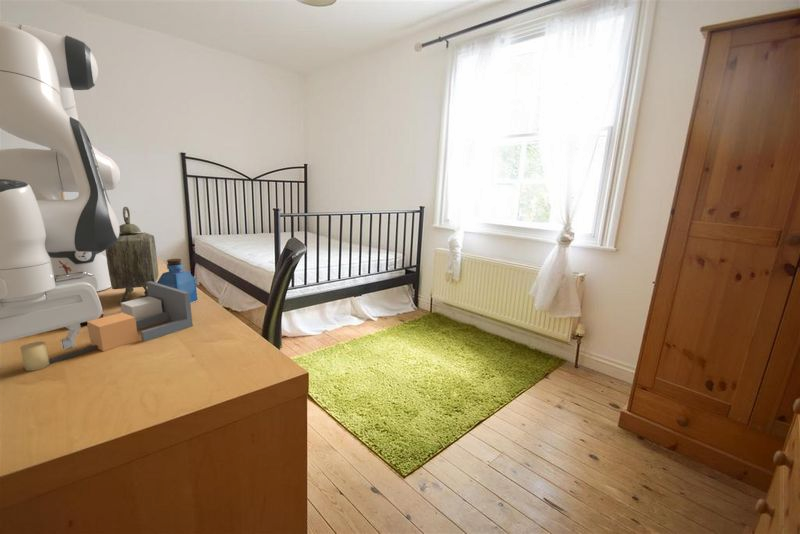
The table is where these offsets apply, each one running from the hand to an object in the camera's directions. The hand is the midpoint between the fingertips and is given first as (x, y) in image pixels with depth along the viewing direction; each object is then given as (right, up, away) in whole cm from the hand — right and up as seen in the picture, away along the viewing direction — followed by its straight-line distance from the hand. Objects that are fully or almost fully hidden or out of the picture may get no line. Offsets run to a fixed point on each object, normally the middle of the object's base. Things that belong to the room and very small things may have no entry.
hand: (33, 358), depth 61 cm
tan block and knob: (+3, 0, +6) cm, 7 cm away
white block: (+3, +3, +21) cm, 22 cm away
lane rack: (+6, +3, +19) cm, 20 cm away
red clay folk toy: (-9, +3, +20) cm, 22 cm away
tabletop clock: (-10, +7, +38) cm, 40 cm away
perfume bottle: (+4, +6, +34) cm, 35 cm away
